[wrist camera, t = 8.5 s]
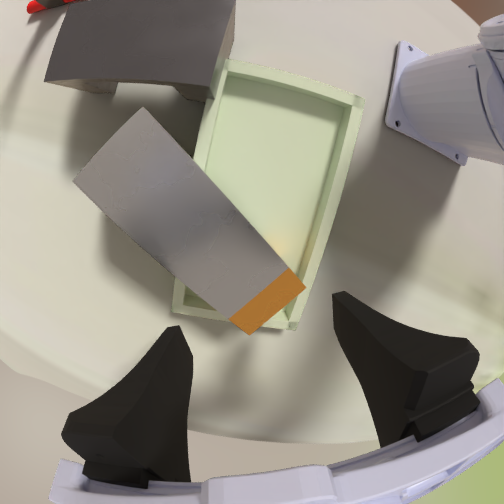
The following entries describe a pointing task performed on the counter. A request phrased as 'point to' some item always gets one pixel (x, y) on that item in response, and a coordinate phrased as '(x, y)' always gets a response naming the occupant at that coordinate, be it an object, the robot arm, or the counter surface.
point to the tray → (277, 167)
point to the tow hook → (44, 4)
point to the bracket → (144, 45)
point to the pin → (187, 223)
